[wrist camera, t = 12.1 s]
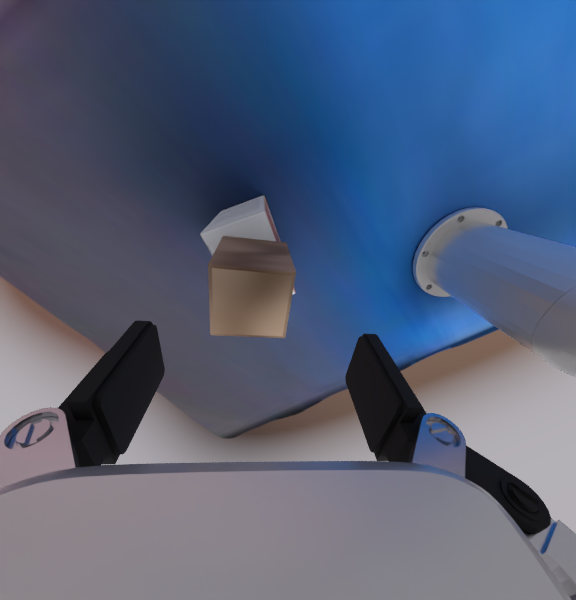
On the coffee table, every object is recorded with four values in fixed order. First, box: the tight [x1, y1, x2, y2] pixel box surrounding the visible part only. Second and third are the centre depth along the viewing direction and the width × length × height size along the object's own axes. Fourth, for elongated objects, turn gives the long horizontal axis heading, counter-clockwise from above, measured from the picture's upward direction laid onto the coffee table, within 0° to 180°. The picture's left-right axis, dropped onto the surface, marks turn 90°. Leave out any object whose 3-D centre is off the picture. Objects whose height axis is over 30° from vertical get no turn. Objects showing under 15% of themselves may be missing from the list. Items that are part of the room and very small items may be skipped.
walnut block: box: [208, 236, 296, 338], centre depth 17 cm, size 5×5×6 cm
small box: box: [200, 196, 295, 294], centre depth 24 cm, size 8×6×10 cm
